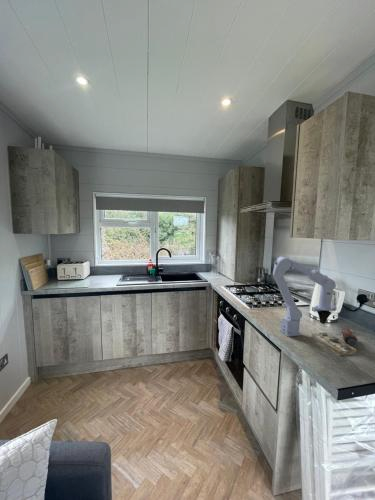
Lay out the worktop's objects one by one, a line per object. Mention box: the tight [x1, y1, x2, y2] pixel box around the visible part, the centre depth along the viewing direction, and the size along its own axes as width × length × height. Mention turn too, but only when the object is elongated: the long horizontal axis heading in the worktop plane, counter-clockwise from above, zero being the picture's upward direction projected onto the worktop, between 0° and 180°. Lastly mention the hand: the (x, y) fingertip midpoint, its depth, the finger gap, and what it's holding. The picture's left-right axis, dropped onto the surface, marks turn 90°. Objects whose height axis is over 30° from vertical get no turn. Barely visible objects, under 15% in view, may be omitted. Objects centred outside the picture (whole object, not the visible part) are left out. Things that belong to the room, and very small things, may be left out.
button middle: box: [331, 336, 339, 343], centre depth 114 cm, size 3×3×2 cm
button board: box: [311, 331, 357, 357], centre depth 114 cm, size 10×17×2 cm, turn 14°
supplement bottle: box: [340, 327, 359, 347], centre depth 116 cm, size 6×6×11 cm
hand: (322, 323), depth 121 cm, fingers closed
